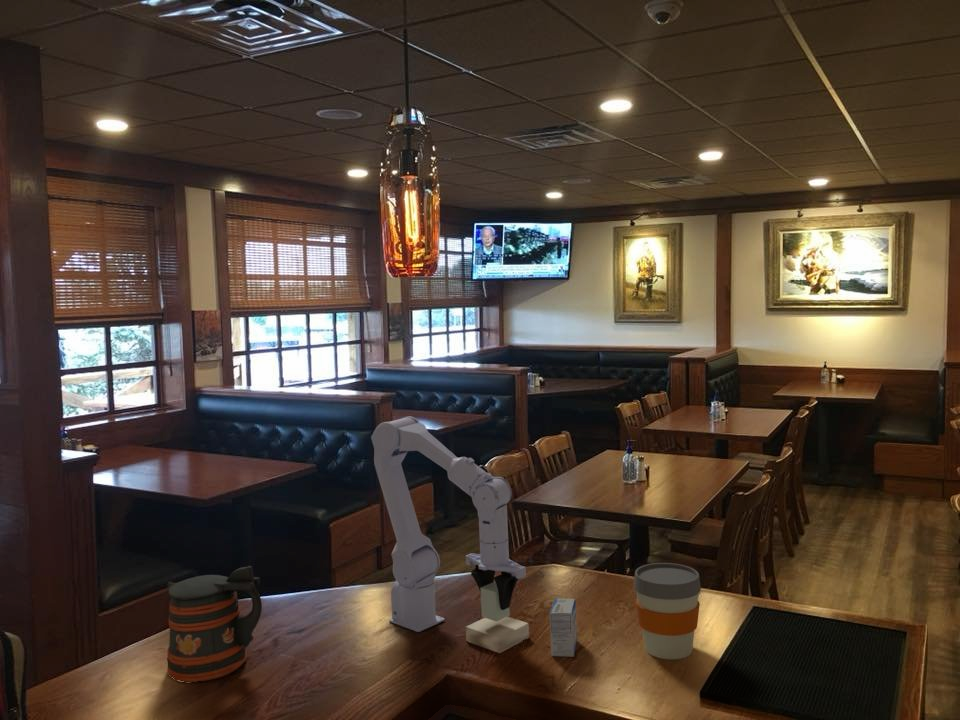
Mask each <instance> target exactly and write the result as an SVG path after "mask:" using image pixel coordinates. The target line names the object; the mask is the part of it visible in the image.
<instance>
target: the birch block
mask: <svg viewBox="0 0 960 720" xmlns="http://www.w3.org/2000/svg"><path fill="white" fill-rule="evenodd" d="M529 626H530V625H529V622H526V621H522V620H520V619H516V618H513V617H510V616H507V617H505V618H503V619H501V620H499V621H497V622H496V621H493V620H490V619H487V618H484V617H482V618H481V619H480V620H477V621H474V622H473V623H471V624H469V625H467V626H465V636H466V637H465V640H466V642H467V641H468V643H471V644H474V645H476V646H479V647H482V648H484V649H487V650H490V651H493V652H495V653H498V654H501V653H503V652H505V651H507V650H508V649H511V648H512V647H514V646H517V645H518V644H520V643H522V642H524V641H525V639H526V640H527V639H529V638H530V629H529V628H530V627H529ZM523 640H524V641H523Z"/></svg>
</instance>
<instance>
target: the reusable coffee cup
mask: <svg viewBox="0 0 960 720" xmlns="http://www.w3.org/2000/svg"><path fill="white" fill-rule="evenodd" d="M701 587H702V586H701V581H700V574H699V572H698V571H697V570H696V569H694V568H693V567H691V566H687V565H684V564H679V563H672V562H656V563H655V562H654V563H648V564H643V565H641V566H638V568H636V569H635V571H634V579H633V589H634V590H635V591H636V599H635V607H636V614H637V620H638V625H639V626H640V627H641V630H642V631H641V632H642V638H643V645H644V650H645V651H646V653H647V654H649V655H650V656H652V657H654V658H658V659H663V660H680V659H686V658H687V657H689V656H690V655H691V654H692V653H693V647H694V645H693V644H694V638H695V631H696V630H697V628H698V623H699V613H700V603H701V602H700V601H699V594H700V593H701V591H702V590H701V589H702V588H701Z"/></svg>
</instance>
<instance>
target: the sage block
mask: <svg viewBox="0 0 960 720" xmlns="http://www.w3.org/2000/svg"><path fill="white" fill-rule="evenodd" d="M480 607H481V609H480V610H481V617H482V618H487V619H490V620H493V621H496V622H497V621H499V620H501V619H503V618H505V617H510V615H511V614H510V613H511V612H510V607H509V608H507V609H505V610H501V608H500V604H499V593H498V589H497V585H496V582H495V581H494V582H493V583H490V584H488V585H486V586H483V587H481V593H480Z"/></svg>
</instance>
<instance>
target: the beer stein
mask: <svg viewBox="0 0 960 720" xmlns="http://www.w3.org/2000/svg"><path fill="white" fill-rule="evenodd" d="M254 574H255V573H254V569H253V567H252V566H251V565H248V566H244V567H243V566H242V567H239V568H237V569H235V570H234V571H232V573H231V574H230V575H228V576H224V575H220V574H205V575H198V576H197V575H196V576H194V577H190V578H187V579H184V580H181V581H178V582H171V581H168V582H167V589H168V595H169V596H170V597H171V599H170V601H169V610H168V611H169V612H168V626H169V641H168V642H169V644H168V647H167V658H166V661H167V669H166V670H167V673H169V674H168V676H169V675H170V676H171V677H173V678H174V679H175V680H180V681H184V682H194V683H198V681H201V682H208V681H211V680H215V679H216V680H217V679H221V678H222V677H225V676H228V675H230V674H232V673H234V672H235V671H237V670H238V669H239V668H241V667H242V666H244V664H243V663H245V662H246V660H247V657H248V655H247V654H248V653H247V647H248V646H250V644H251V642H252V641H253V640H254V638H255V637H254V635H252V633H253V632H254V630H255V629H256V627H257V625H258V623H259V621H260V618H261V615H262V609H263V604H262V599H261V596H260V593H259V591H258V589H257V588H256V586H258V585H259V584H260V583H261V577H259V576H257V577H256V576H254ZM237 592H243V593H246V594H247V595H248V596H249V597H250V600H251V602H252V606H251V607H252V608H251V611H250V612H249V613H248V614H246V615H242V616H241V615H240V613H241V607H240V604H239V599H238V593H237ZM170 676H169V677H170ZM171 677H170V678H171ZM174 679H173V680H174ZM175 680H174V681H175Z"/></svg>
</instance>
